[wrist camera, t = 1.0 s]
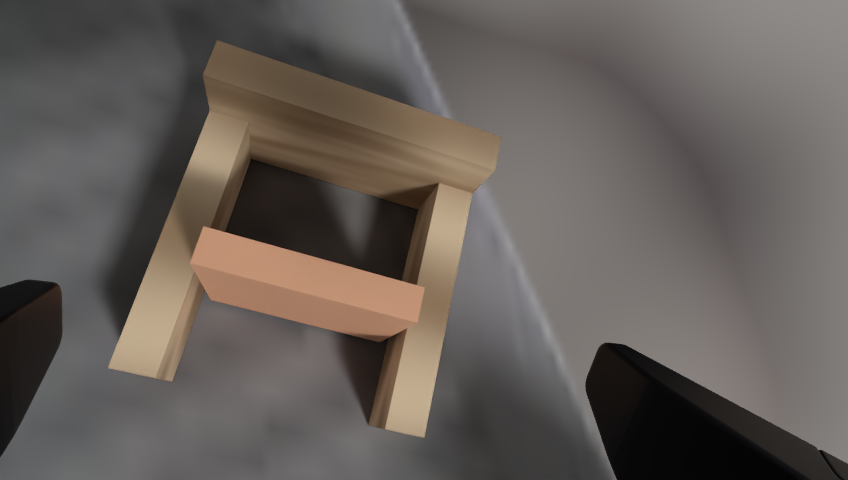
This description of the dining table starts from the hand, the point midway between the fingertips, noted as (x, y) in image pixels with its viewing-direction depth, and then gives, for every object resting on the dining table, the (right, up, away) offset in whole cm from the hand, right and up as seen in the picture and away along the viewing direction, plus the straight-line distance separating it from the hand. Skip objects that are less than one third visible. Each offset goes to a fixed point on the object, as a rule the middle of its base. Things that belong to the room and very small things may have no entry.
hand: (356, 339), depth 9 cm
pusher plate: (-4, -1, +14) cm, 15 cm away
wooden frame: (-4, 0, +15) cm, 15 cm away
